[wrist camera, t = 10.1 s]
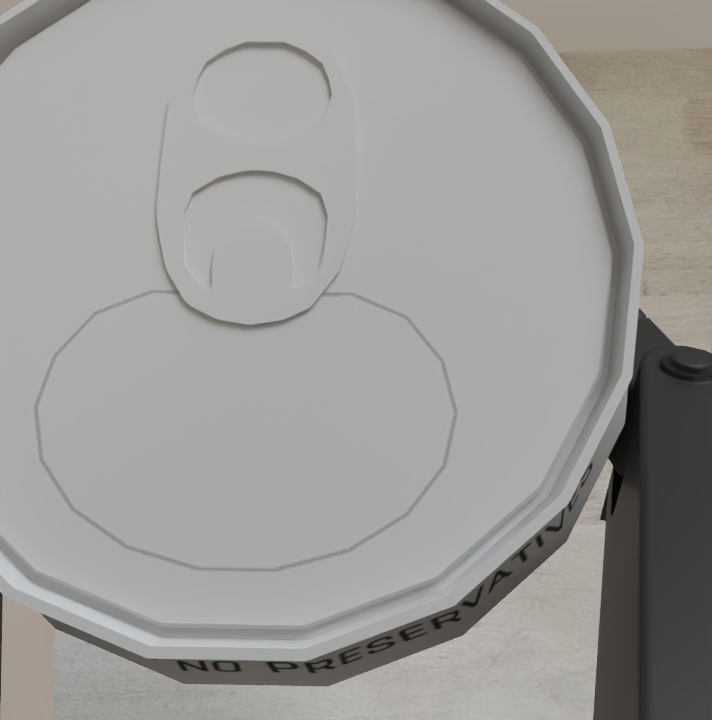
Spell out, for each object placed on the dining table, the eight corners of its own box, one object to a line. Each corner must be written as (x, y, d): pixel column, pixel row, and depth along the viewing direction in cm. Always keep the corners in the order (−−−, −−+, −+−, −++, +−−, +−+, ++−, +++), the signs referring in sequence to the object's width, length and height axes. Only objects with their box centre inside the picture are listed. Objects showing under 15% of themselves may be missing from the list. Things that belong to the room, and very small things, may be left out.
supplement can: (454, 553, 19) (779, 760, 4) (198, 549, 19) (-331, 739, 4) (449, 312, 21) (668, -119, 6) (215, 308, 21) (-122, -126, 6)
